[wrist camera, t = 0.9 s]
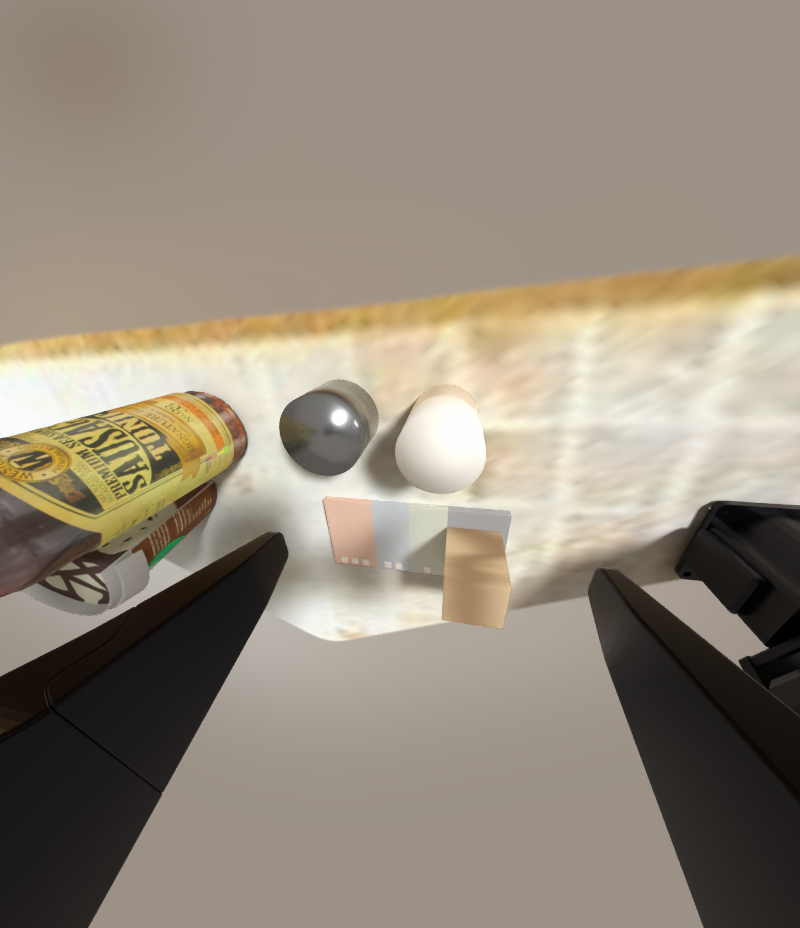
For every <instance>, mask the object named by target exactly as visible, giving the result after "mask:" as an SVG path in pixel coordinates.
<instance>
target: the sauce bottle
mask: <svg viewBox="0 0 800 928" xmlns="http://www.w3.org/2000/svg"><path fill="white" fill-rule="evenodd" d="M246 443H247V437H246V432H245V430H244V427H243V425H242V423H241V421H240V419H239V418H238V416H237V415H236V413H235V412H234V411H233V410H232V409H231V407H230V406H229V405H227V404H226V403H225V402H224V401H223V400H221V399H219V398H217V397H215V396H213V395H210V394H207V393H204V392H195V391H188V392H185V393H173V394H169V395H165V396H162V397H158V398H154V399H150V400H146V401H142V402H139V403H135V404H131V405H127V406H124V407H120V408H116V409H112V410H108V411H104V412H101V413H97V414H93V415H90V416H86V417H81V418H78V419H74V420H70V421H66V422H62V423H58V424H55V425H52V426H48V427H45V428H40V429H36V430H32V431H29V432H25V433H22V434H18V435H14V436H10V437H6V438H1V439H0V597H3V596H6V595H8V594H11V593H13V592H17V591H22V590H24V589H26V588H28V587H30V586H32V585H34V584H36V583H38V582H40V581H42V580H44V579H46V578H47V577H48V576H50V575H51V574H53V573H54V572H56V571H58V570H59V569H61V568H63V567H64V566H66V565H67V564H68V563H70V562H72V561H73V560H75V559H77V558H79V557H81V556H82V555H84V554H86V553H90V552H93V551H95V550H97V549H98V548H100V547H102V546H103V545H105V544H106V543H108V542H110V541H111V540H113V539H114V538H116V537H118V536H119V535H121V534H122V533H124V532H126V531H127V530H129V529H130V528H132V527H134V526H135V525H137V524H138V523H140V522H142V521H143V520H145V519H146V518H148V517H150V516H151V515H153V514H154V513H156V512H158V511H159V510H161V509H162V508H164V507H166V506H167V505H169V504H171V503H172V502H174V501H175V500H177V499H179V498H180V497H182V496H184V495H185V494H187V493H188V492H190V491H192V490H193V489H195V488H197V487H198V486H200V485H202V484H203V483H205V482H206V481H208V480H210V479H211V478H213V477H214V476H216V475H218V474H219V473H221V472H222V471H224V470H225V469H227V468H228V467H229V465H230V464H232V463H233V462H235V461H236V460H237V459H238V458H239V457H241V456H242V455H243V453H244V451H245V448H246Z"/></svg>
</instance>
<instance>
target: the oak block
mask: <svg viewBox="0 0 800 928" xmlns="http://www.w3.org/2000/svg"><path fill="white" fill-rule="evenodd" d="M510 593H511V583H510V578H509V572H508V566H507V561H506V555H505V549H504V544H503V538H502V532H498V531H487V530H477V529H466V528H455V527H447V537H446V552H445V567H444V583H443V605H442V620H445V621H452V622H459V623H465V624H472V625H478V626H485V627H491V628H498V629H503V626H504V621H505V616H506V612H507V607H508V602H509V598H510Z"/></svg>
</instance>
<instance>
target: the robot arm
mask: <svg viewBox="0 0 800 928" xmlns="http://www.w3.org/2000/svg"><path fill="white" fill-rule="evenodd" d="M725 508H726V509H725ZM723 509H724V510H723ZM287 558H288V549H287V545H286V542H285V539H284V536H283V534H282V533H280V532H272V531H271V532H267V533H265V534H263V535H261V536H260V537H258V538H256V539H254V540H252V541H251V542H249V543H247V544H245V545H244V546H242V547H240V548H238V549H236V550H235V551H233V552H231V553H229V554H227V555H226V556H224V557H222V558H220V559H219V560H217V561H215V562H213V563H211V564H210V565H208V566H206V567H204V568H202V569H201V570H199V571H197V572H195V573H193V574H192V575H190V576H188V577H186V578H185V579H183V580H181V581H180V582H178V583H176V584H174V585H172V586H170V587H169V588H167V589H165V590H163V591H161V592H160V593H158V594H156V595H154V596H152V597H151V598H149V599H147V600H145V601H143V602H142V603H140V604H138V605H137V606H136V607H133V608H131V609H129V610H127V611H125V612H124V613H122V614H120V615H119V616H117V617H115V618H113V619H111V620H109V621H107V622H106V623H104V624H102V625H100V626H98V627H96V628H95V629H93V630H91V631H89V632H87V633H85V634H83V635H81V636H79V637H77V638H75V639H73V640H72V641H70V642H68V643H66V644H64V645H62V646H60V647H58V648H56V649H54V650H52V651H50V652H48V653H46V654H44V655H42V656H40V657H38V658H36V659H34V660H32V661H30V662H28V663H26V664H24V665H22V666H20V667H18V668H16V669H14V670H12V671H10V672H8V673H6V674H5V675H2V676H1V677H0V928H88V927H89V925H90V923H91V922H92V920H93V918H94V916H95V915H96V913H97V911H98V909H99V907H100V905H101V904H102V902H103V900H104V898H105V897H106V895H107V893H108V891H109V889H110V887H111V886H112V884H113V882H114V880H115V879H116V876H117V875H118V873H119V871H120V869H121V868H122V866H123V864H124V862H125V861H126V859H127V857H128V855H129V853H130V852H131V850H132V848H133V846H134V844H135V843H136V841H137V839H138V837H139V835H140V834H141V832H142V830H143V828H144V826H145V824H146V823H147V821H148V819H149V817H150V816H151V814H152V812H153V810H154V808H155V807H156V805H157V803H158V801H159V799H160V798H161V796H162V792H163V791H164V790H165V788H166V786H167V785H168V783H169V781H170V779H171V777H172V775H173V774H174V772H175V770H176V768H177V766H178V765H179V763H180V761H181V759H182V757H183V755H184V754H185V752H186V750H187V748H188V747H189V745H190V743H191V741H192V739H193V738H194V736H195V734H196V732H197V730H198V729H199V727H200V725H201V723H202V721H203V719H204V718H205V716H206V714H207V712H208V711H209V709H210V707H211V705H212V703H213V701H214V700H215V698H216V696H217V694H218V693H219V691H220V689H221V687H222V685H223V684H224V682H225V680H226V678H227V676H228V675H229V673H230V671H231V669H232V667H233V666H234V664H235V662H236V660H237V658H238V657H239V655H240V653H241V651H242V649H243V648H244V646H245V644H246V642H247V640H248V639H249V637H250V635H251V633H252V631H253V630H254V628H255V626H256V624H257V622H258V620H259V619H260V617H261V615H262V613H263V612H264V610H265V608H266V606H267V604H268V602H269V600H270V598H271V595H272V593H273V591H274V588H275V586H276V584H277V582H278V579H279V577H280V575H281V572H282V570H283V568H284V566H285V563H286V561H287ZM675 572H676V574H677V575H678V576H679V577H680V578H682V579H688V580H698V581H703V582H704V584H705V585H706V586H707V587H708V588H709V589H710V590H711V592H712V593H713V594H714V595H715V596H716V597H717V598H718V599H719V601H720V602H721V603H722V604H723V605H724V606H725V607H726V608H727V610H728V611H729V612H730V613H732V614H737V615H738V616H739V617H740V618H741V619H742V620H743V622H744V623H745V624H746V625H747V626H748V627H749V628H750V629H751V630H752V632H753V633H754V634H755V635H756V636H757V637H758V638H759V639H760V640H761V641H762V643H763V644H764V645H765V646H767V647H769V648H768V649H766V650H764V651H762V652H760V653H758V654H756V655H753V656H751V657H750V656H746V657H744V658H742V659H740V660H739V663H740V665H741V667H742V669H743V670H742V669H741V668H739V667H738V666H737V665H736V664H735V663H733V662H732V661H731V660H730V659H728V658H727V657H726V656H725V655H723V654H722V653H721V652H720V651H718V650H717V649H716V648H715V647H713V646H712V645H711V644H709V643H708V642H707V641H706V640H705V639H704V638H702V637H701V636H700V635H698V634H697V633H696V632H694V630H692V629H691V628H690V627H689V626H687V625H686V624H685V623H684V622H682V621H681V620H680V619H679V618H677V617H676V616H675V615H673V614H672V613H671V612H670V611H669V610H667V609H666V608H665V607H664V606H663V605H661V604H660V603H659V602H658V601H656V600H655V599H654V598H652V597H651V596H650V595H649V594H648V593H646V592H645V591H644V590H643V589H641V588H640V587H639V586H638V585H636V584H635V583H634V582H633V581H632V580H630V579H629V578H628V577H627V576H625V575H624V574H623V573H622V572H620V571H619V570H617V569H615V568H607V567H598V568H597V569H596V570H595V572H594V575H593V578H592V580H591V583H590V585H589V588H588V596H589V600H590V605H591V608H592V612H593V616H594V620H595V624H596V628H597V631H598V635H599V640H600V643H601V647H602V651H603V655H604V658H605V661H606V663H607V667H608V670H609V673H610V675H611V678H612V681H613V684H614V686H615V689H616V692H617V694H618V697H619V700H620V702H621V705H622V708H623V711H624V713H625V716H626V719H627V721H628V724H629V726H630V729H631V732H632V735H633V738H634V740H635V743H636V746H637V749H638V751H639V754H640V757H641V759H642V762H643V765H644V767H645V770H646V773H647V776H648V778H649V781H650V784H651V786H652V789H653V792H654V795H655V797H656V800H657V803H658V805H659V808H660V811H661V813H662V816H663V819H664V822H665V824H666V827H667V830H668V832H669V835H670V838H671V841H672V843H673V846H674V848H675V851H676V854H677V857H678V860H679V862H680V865H681V868H682V870H683V873H684V875H685V878H686V881H687V884H688V886H689V889H690V892H691V895H692V897H693V900H694V903H695V906H696V908H697V911H698V914H699V916H700V919H701V922H702V924H703V927H704V928H800V506H797V505H782V504H767V503H751V502H736V501H720V502H717V503H716V504H714V505H713V506H712V508H711V509H710V511H709V513H708V514H707V516H706V518H705V519H704V521H703V523H702V524H701V526H700V528H699V530H698V531H697V533H696V535H695V536H694V538H693V540H692V541H691V543H690V545H689V546H688V548H687V550H686V552H685V553H684V555H683V557H682V558H681V560H680V562H679V563H678V565H677V567H676V569H675Z"/></svg>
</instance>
